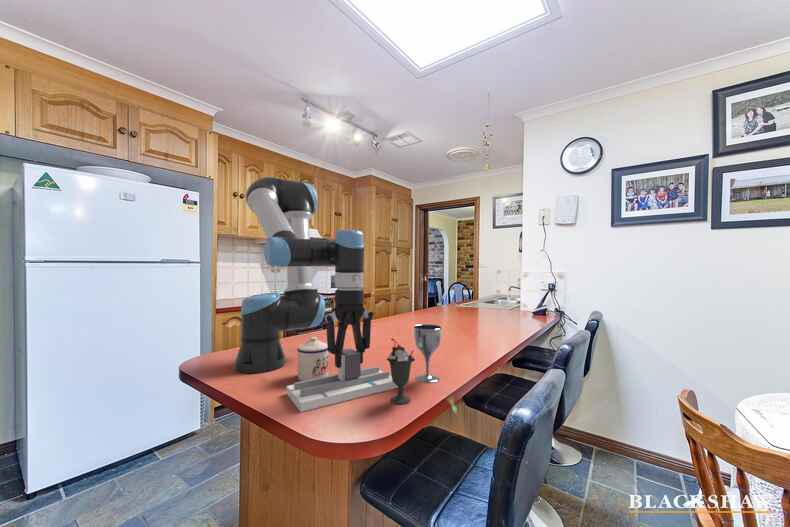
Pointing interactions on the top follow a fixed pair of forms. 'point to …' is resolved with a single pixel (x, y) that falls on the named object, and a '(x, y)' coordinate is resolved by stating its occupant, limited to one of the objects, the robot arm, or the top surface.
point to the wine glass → (427, 347)
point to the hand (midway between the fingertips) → (349, 377)
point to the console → (338, 388)
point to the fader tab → (351, 363)
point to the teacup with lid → (312, 360)
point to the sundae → (400, 371)
